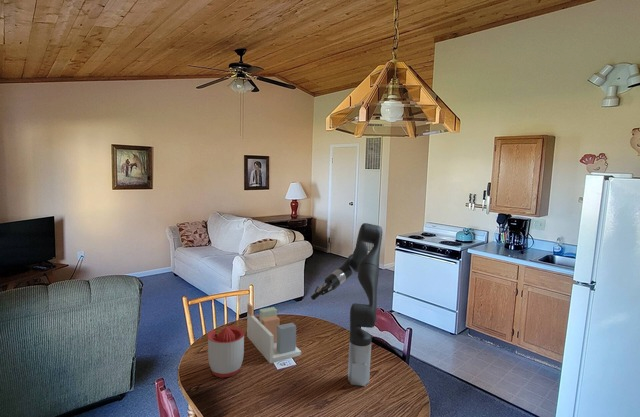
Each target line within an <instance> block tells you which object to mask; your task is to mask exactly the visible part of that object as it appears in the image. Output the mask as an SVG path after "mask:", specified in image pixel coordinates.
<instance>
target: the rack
mask: <svg viewBox="0 0 640 417" xmlns="http://www.w3.org/2000/svg"><path fill="white" fill-rule="evenodd" d="M253 306H254V305H252V304H251V303H249V302H247V312H246V313H247V316H246V320H247V321H246V324H247V325H246V328H247V329H246V330H247V332H246V337H247V338H248V339H249V341H250V342H251V343H252V344H253V345H254V346H255V347H256V348H257V350H258V351H259V352H260V354H261V355H262V356H263V357H264V358H265V359H266V361H267V362H268V363H269V364H274V363H276V362H281V361H284V360H288V359H292V358H297V357H300V356H302V350H300V349H299V347H297V346H296V350H294V351H290V352H286V353H282V354H280V353H279V352H278V351H277V343H274V335H273V334H272V333H271V332H270V331H269V330H268V329H267V328H266V327H265V326H264V325H263V324H262V323H261V322H260V321H259V319H258V318H257V317H256V316H255V315H254V312H253V311H254V307H253Z"/></svg>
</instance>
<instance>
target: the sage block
mask: <svg viewBox="0 0 640 417" xmlns="http://www.w3.org/2000/svg"><path fill="white" fill-rule="evenodd" d="M271 316H277V317H278V309H277V308H276V307H274V306H272V307H265V308H260V309H259V319H258V320H259V321H260V322H261V318H266V317H271Z"/></svg>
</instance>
